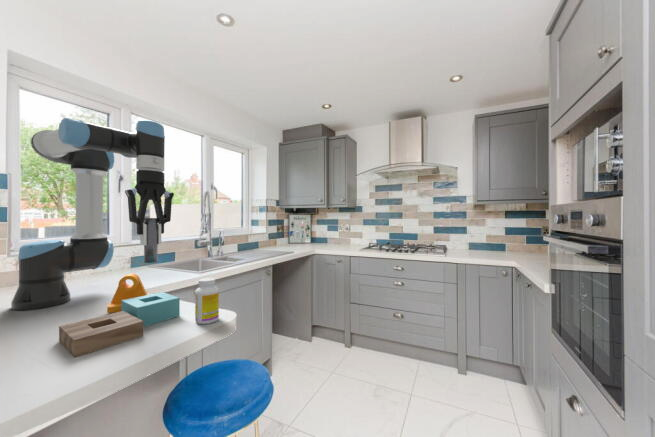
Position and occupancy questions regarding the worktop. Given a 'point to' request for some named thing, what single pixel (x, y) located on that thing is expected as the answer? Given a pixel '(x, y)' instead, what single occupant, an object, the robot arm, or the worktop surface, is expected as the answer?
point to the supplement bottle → (206, 302)
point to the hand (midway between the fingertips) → (150, 244)
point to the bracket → (126, 292)
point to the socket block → (99, 332)
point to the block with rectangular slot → (152, 307)
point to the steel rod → (151, 241)
